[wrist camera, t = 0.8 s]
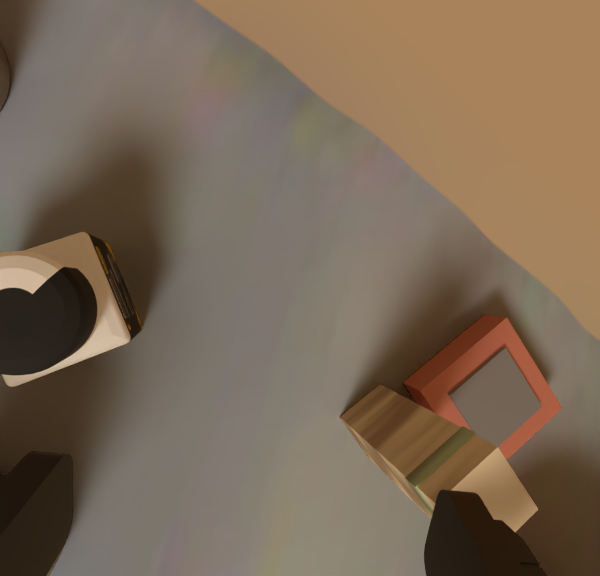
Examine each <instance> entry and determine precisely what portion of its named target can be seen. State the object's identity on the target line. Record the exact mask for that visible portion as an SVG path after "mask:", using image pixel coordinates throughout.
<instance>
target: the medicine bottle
mask: <svg viewBox="0 0 600 576" xmlns="http://www.w3.org/2000/svg"><path fill="white" fill-rule="evenodd" d="M141 330H142V324H141V322H140V319H139V317H138V314H137V312H136V310H135V307H134V305H133V302H132V300H131V297H130V295H129V292H128V290H127V288H126V285H125V283H124V280H123V278H122V275H121V273H120V270H119V268H118V266H117V263H116V261H115V258H114V256H113V253H112V251H111V248H110V246H109V244H108V243H107V242H104V241H102V240H100V239H98V238H96V237H94V236H92V235H90V234H88V233H85V232H79V233H76V234H73V235H70V236H67V237H64V238H61V239H58V240H54V241H51V242H48V243H45V244H42V245H39V246H36V247H33V248H30V249H27V250H24V251H8V252H1V253H0V374H2V376H3V378H4V380H5V382H6V384H7V385H8V386H10V387H14V386H18V385H21V384H23V383H26V382H28V381H31V380H33V379H36V378H39V377H41V376H44V375H46V374H49V373H52V372H54V371H57V370H59V369H62V368H64V367H67V366H70V365H72V364H75V363H77V362H80V361H83V360H85V359H88V358H90V357H93V356H96V355H98V354H101V353H103V352H106V351H108V350H111V349H114V348H116V347H119V346H121V345H124V344H127V343H128V342H129V341H130V340H132V339H133V338H134V337H135V336H136V335H137V334H138V333H139V332H140V331H141Z"/></svg>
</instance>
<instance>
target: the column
mask: <svg viewBox="0 0 600 576" xmlns="http://www.w3.org/2000/svg"><path fill="white" fill-rule="evenodd" d="M340 418H341V420H342V421H343V422H344V424H345V425H346V427H347V428H348V429H349V431H350V432H351V434H352V435H353V436H354V438H355V439H356V441H357V442H358V443H359V445H360V446H361V448H362V449H363V450H364V452H365V453H366V455H367V456H368V457H369V458H370V459H371V460H372V461H373V462H374V463H375V464H376V465H377V466H378V467H379V468H380V469H381V470H382V471H383V472H384V473H385V474H386V475H387V476H388V477H389V478H390V479H391V480H392V481H393V482H394V483H395V484H396V485H397V486H398V487H399V488H400V489H401V490H402V491H403V492H404V493H405V494H406V495H407V496H408V497H409V498H410V499H411V500H412V501H413V502H414V503H415V504H416V505H417V506H418V507H419V508H420V509H421V510H422V511H423V512H424V513H425V514H426V515H427V516H428V517H429V518H431V519H432V515H433V511H434V506H435V502H436V498H437V495H438V493H439V492H440V491H441V490H453V491H464V492H474V493H477V494H478V495H479V496H480V497H481V499H482V501H483V502H484V504H485V506H486V507H487V509H488V511H489V512H490V514H491V516H492V517H493V519H494V520H502V521H503V522H504V523H506V524H507V525H508V526H509V527H510V528H511V529H512V530H513V531H514V532H516V531H517V530H518V529H519V528H520V527H521V526H522V525H523V524H524V523H525V522H526V521H527V520H528V519H529V518H530V517H531V516H532V515H533V514H534V513H535V512H536V511H537V510H538V508H537V506H536V505H535V503H534V502H533V500H532V499H531V497H530V496H529V494H528V492H527V491H526V489H525V488H524V486H523V485H522V483H521V482H520V480H519V479H518V477H517V476H516V474H515V473H514V471H513V469H512V468H511V466H510V465H509V463H508V462H507V460H506V459H505V457H504V456H503V454H502V453H501V451H500V450H499V448H498V447H497V446H495V445H493V444H491V443H489V442H488V441H486V440H484V439H482V438H480V437H478V435H477V434H476V432H474V431H472V430H470V429H468V428H466V427H464V426H462V427H460V426H458V425H456V424H454V423H452V422H450V421H448V420H447V419H445V418H443V417H441V416H439V415H437V414H435V413H433V412H432V411H430V410H428V409H426V408H424V407H422V406H420V405H418V404H417V403H415V402H413V401H411V400H409V399H407V398H405V397H404V396H402V395H400V394H398V393H396V392H394V391H392V390H390V389H389V388H387V387H385V386H383V385H381V384H379V385H378V386H377V387H376V388H374V389H373V390H372V391H371V392H369V393H368V394H367V395H366V396H365V397H363V398H362V399H361V400H360V401H359V402H357V403H356V404H355V405H354V406H353V407H351V408H350V409H349V410H348V411H346V412H345V413H344V414H343V415H342V416H340Z"/></svg>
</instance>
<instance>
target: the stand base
mask: <svg viewBox="0 0 600 576" xmlns="http://www.w3.org/2000/svg"><path fill="white" fill-rule="evenodd" d="M403 384H404V385H405V387H406V388H407V390H408V391H409V393H410V394H411V395H412V397H413V398H414V400H415V401H416V403H417V404H418V405H420V406H422V407H424V408H426V409H428V410H430V411H432V412H433V413H435V414H437V415H439V416H441V417H443V418H445V419H447V420H448V421H450V422H452V423H454V424H456V425H458V426H460V427H462V426H464V427H466V428H468V429H470V430H472V431H474V432H476V434H477V435H478V437H480V438H482V439H484V440H486V441H488V442H489V443H491V444H493V445H495V446H497V447H498V448H499V450H500V451H501V453H502V454H503V456H504V457H505V459H506V460H507V459H508V458H509V457H511V456H512V455H513V454H514V453H515V452H516V451H517V450H518V449H519V448H520V447H521V446H522V445H523V444H524V443H526V442H527V441H528V440H529V439H530V438H531V437H532V436H533V435H534V434H535V433H536V432H537V431H538V430H539V429H541V428H542V427H543V426H544V425H545V424H546V423H547V422H548V421H549V420H550V419H551V418H552V417H553V416H554V415H556V414H557V413H558V412H559V411H560V410H561V409H562V406H561V405H560V403H559V402H558V400H557V398H556V397H555V395H554V393H553V392H552V390H551V389H550V387H549V385H548V384H547V382H546V380H545V379H544V377H543V376H542V374H541V372H540V371H539V369H538V367H537V366H536V364H535V362H534V361H533V359H532V358H531V356H530V354H529V353H528V351H527V349H526V348H525V346H524V345H523V343H522V341H521V340H520V338H519V336H518V335H517V333H516V331H515V330H514V328H513V327H512V325H511V323H510V322H509V320H508V318H507V317H499V316H489V315H483V316H482V317H481V318H480V319H479V320H477V321H476V322H475V323H474V324H473V325H471V326H470V327H469V328H468V329H467V330H465V331H464V332H463V333H462V334H461V335H459V336H458V337H457V338H456V339H455V340H453V341H452V342H451V343H450V344H449V345H447V346H446V347H445V348H444V349H443V350H441V351H440V352H439V353H438V354H437V355H435V356H434V357H433V358H432V359H431V360H429V361H428V362H427V363H426V364H425V365H423V366H422V367H421V368H420V369H419V370H417V371H416V372H415V373H414V374H413V375H411V376H410V377H409V378H408V379H407V380H405V381H404V382H403Z"/></svg>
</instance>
